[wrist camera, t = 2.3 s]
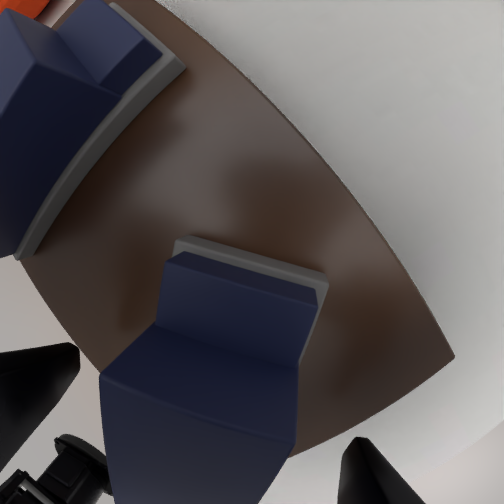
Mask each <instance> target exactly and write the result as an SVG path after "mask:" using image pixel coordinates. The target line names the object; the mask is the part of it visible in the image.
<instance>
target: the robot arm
mask: <svg viewBox="0 0 504 504" xmlns="http://www.w3.org/2000/svg"><path fill="white" fill-rule="evenodd" d="M79 371H80V351H79V348H78V347H77V346H75V345H73V344H72V343H69V342H66V343H60V344H54V345H48V346H42V347H37V348H30V349H23V350H17V351H9V352H3V353H0V472H1V471H2V469H3V468H4V467H5V466H6V465H7V463H8V462H9V461H10V460H11V458H12V457H13V456H14V455H15V453H16V452H17V451H18V450H19V449H20V447H21V446H22V445H23V444H24V442H25V441H26V440H27V439H28V437H29V436H30V435H31V434H32V433H33V432H34V430H35V429H36V428H37V427H38V426H39V425H40V423H41V422H42V421H43V420H44V419H45V417H46V416H47V415H48V414H49V413H50V411H51V410H52V409H53V408H54V407H55V406H56V404H57V403H58V402H59V401H60V399H61V398H62V396H63V395H64V393H65V392H66V390H67V389H68V387H69V386H70V384H71V383H72V382H73V380H74V379H75V377H76V376H77V374H78V373H79ZM54 442H55V445H56V448H57V451H58V454H59V455H58V456H57V457H56V458H55V460H53V462H52V463H51V464H50V465H49V466H48V467H47V468H46V470H45V471H44V473H43V474H42V475H41V476H40V477H39V478H38V480H37V481H35V480H34V479H33V478H32V477H30V476H29V474H28V473H27V472H26V471H24V472H23V471H21V470H19V469H17V470H16V471H15V472H14V473H13V475H12V476H11V477H10V478H9V479H8V480H6V481H5V482H4V483H3V484H2V485H1V486H0V504H96V502H97V500H98V499H99V498H100V496H101V495H102V493H103V492H104V493H106V494H108V495H110V496H113V492H112V487H111V482H110V477H109V471H108V466H106V465H105V464H103V463H101V462H99V461H97V460H95V459H93V458H91V457H90V456H88V455H86V454H84V453H83V452H81V451H79V450H78V449H76V448H74V447H73V446H71V445H69V444H68V443H66V442H64V441H63V440H61V439H60V438H58V437H56V438H55V439H54ZM22 486H23V487H25V488H26V489H27V490H26V491H24V490H23V489H22V488H21V487H22ZM337 504H425V503H424V501H423V500H422V499H421V498H420V497H419V496H418V495H417V494H416V493H415V491H414V490H412V488H411V487H410V486H409V485H408V483H407V482H406V481H405V480H404V479H403V478H402V477H401V476H400V474H399V473H398V472H397V471H396V470H395V469H394V468H393V466H392V465H391V464H390V463H389V462H388V461H387V460H386V458H385V457H384V456H383V455H382V454H381V453H380V451H379V450H378V449H377V448H376V447H375V446H374V444H373V443H372V442H371V441H370V440H369V439H368V438H364V437H355V438H354V439H353V440H352V442H351V443H350V444H349V446H348V447H347V449H346V450H345V452H344V453H343V456H342V460H341V471H340V480H339V489H338V501H337Z"/></svg>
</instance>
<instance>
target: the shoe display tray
mask: <svg viewBox="0 0 504 504" xmlns="http://www.w3.org/2000/svg"><path fill="white" fill-rule="evenodd" d="M83 1H84V0H76V1H75V2H74V3H73V4H72V5H71V6H70V7H69V9H68V10H67V11H66V12H65V13H64V14H63V15H62V16H61V17H60V18H59V19H58V21H57V22H56V23H55V24H54V25H53V26H52V28H51V29H53V30H55V31H56V30H57V29H58V28H59V27H60V26H61V25H62V23H63V22H64V21H65V20H66V19H67V18H68V17H69V16H70V15H71V14H72V13H73V12H74V10H75V9H76V8H77V7H78V6H79V5H80V4H81V3H82V2H83ZM103 1H104V2H105V3H107V4H108V5H109V4H110V3H112V2H115V3H116V4H117V5H119V6H120V7H121V8H122V9H123V10H125V11H126V12H127V13H128V14H130V15H131V16H132V17H133V18H134V19H135V20H137V21H138V22H139V23H140V24H141V25H143V26H144V27H145V28H146V29H147V30H148V31H149V32H151V33H152V34H153V35H154V36H155V37H156V38H157V39H158V40H160V41H161V42H162V43H163V44H164V45H165V46H166V47H167V48H168V49H170V50H171V51H172V52H173V53H174V54H175V55H176V56H177V57H178V58H179V59H180V60H181V61H182V62H183V63H184V64H185V66H186V69H185V70H184V71H183V72H182V73H180V74H179V75H178V76H177V77H176V78H175V79H174V80H173V81H172V82H171V83H169V84H168V85H167V86H166V87H165V88H164V89H163V90H162V91H161V92H160V93H159V94H158V95H157V96H156V97H155V98H154V99H153V100H152V101H151V102H150V103H149V104H148V105H147V106H146V107H145V108H144V109H143V110H142V111H141V112H140V113H139V114H138V115H137V116H136V117H135V118H134V119H133V120H132V121H131V123H130V124H129V125H128V126H127V127H126V128H125V129H124V130H123V131H122V132H121V134H120V135H119V136H118V137H117V138H116V139H115V140H114V142H113V143H112V144H111V145H110V146H109V147H108V149H107V150H106V151H105V152H104V153H103V155H102V156H101V157H100V158H99V160H98V161H97V162H96V163H95V165H94V166H93V167H92V168H91V170H90V171H89V172H88V173H87V175H86V176H85V177H84V179H83V180H82V181H81V183H80V184H79V185H78V187H77V188H76V189H75V191H74V192H73V194H72V195H71V196H70V198H69V199H68V201H67V202H66V204H65V205H64V206H63V208H62V209H61V211H60V212H59V214H58V215H57V217H56V218H55V220H54V222H53V223H52V225H51V226H50V228H49V229H48V231H47V233H46V234H45V236H44V237H43V239H42V241H41V242H40V244H39V246H38V247H37V249H36V251H35V253H34V254H33V256H31V257H27V258H24V259H21V260H20V262H21V264H22V265H23V267H24V268H25V270H26V272H27V274H28V276H29V277H30V279H31V280H32V282H33V283H34V285H35V287H36V288H37V290H38V292H39V293H40V295H41V296H42V298H43V299H44V301H45V302H46V304H47V305H48V307H49V308H50V310H51V311H52V312H53V314H54V315H55V317H56V318H57V320H58V321H59V322H60V323H61V325H62V326H63V328H64V329H65V330H66V332H67V333H68V334H69V336H70V337H71V338H72V340H73V341H74V342H75V343H76V345H77V346H78V347H79V348H80V349H81V351H82V352H83V353H84V355H85V356H86V357H87V358H88V359H89V361H90V362H91V363H92V364H93V365H94V367H95V368H97V370H98V371H99V372H100V373H101V372H102V371H103V370H104V369H105V368H106V367H107V366H108V365H109V364H110V363H111V362H112V361H113V360H114V359H115V358H116V357H117V356H118V355H120V354H121V353H122V352H123V351H124V350H125V349H126V348H127V347H128V346H129V345H130V344H131V343H132V342H133V341H134V340H135V339H136V338H137V337H139V336H140V335H141V334H142V333H143V332H144V331H145V330H146V329H147V328H148V327H149V326H150V325H151V324H152V323H153V322H154V321H156V313H157V306H158V299H159V293H160V286H161V280H162V274H163V268H164V263H165V261H166V260H168V259H170V258H172V254H173V249H174V243H175V241H176V240H177V239H179V238H182V237H184V236H186V235H192V236H195V237H199V238H202V239H206V240H209V241H213V242H216V243H220V244H223V245H227V246H230V247H234V248H237V249H241V250H244V251H248V252H251V253H255V254H258V255H262V256H265V257H269V258H272V259H276V260H279V261H283V262H287V263H290V264H294V265H297V266H301V267H304V268H308V269H311V270H315V271H318V272H322V273H324V274H326V277H327V280H328V283H329V288H328V291H327V294H326V296H325V299H324V302H323V305H322V308H321V311H320V313H319V316H318V319H317V321H316V324H315V327H314V329H313V332H312V335H311V337H310V340H309V343H308V345H307V348H306V350H305V353H304V355H303V358H302V360H301V363H300V365H299V383H298V418H297V442H296V444H295V446H294V448H293V449H292V451H291V453H290V455H289V456H288V458H289V457H292V456H294V455H297V454H299V453H301V452H303V451H306V450H308V449H310V448H312V447H315V446H317V445H319V444H321V443H323V442H325V441H327V440H329V439H331V438H333V437H335V436H337V435H339V434H341V433H343V432H345V431H347V430H348V429H350V428H352V427H354V426H356V425H358V424H359V423H361V422H363V421H365V420H366V419H368V418H370V417H372V416H373V415H375V414H377V413H378V412H380V411H382V410H383V409H385V408H386V407H388V406H390V405H391V404H393V403H394V402H396V401H397V400H399V399H400V398H402V397H403V396H405V395H406V394H408V393H409V392H411V391H412V390H414V389H415V388H416V387H418V386H419V385H421V384H422V383H423V382H425V381H426V380H428V379H429V378H430V377H432V376H433V375H434V374H435V373H437V372H438V371H439V370H441V369H442V368H443V367H444V366H446V365H447V364H448V363H449V362H451V361H452V360H453V359H454V358H455V355H454V353H453V351H452V349H451V347H450V345H449V343H448V341H447V339H446V338H445V336H444V334H443V332H442V330H441V328H440V327H439V325H438V323H437V321H436V319H435V318H434V316H433V314H432V312H431V311H430V309H429V307H428V306H427V304H426V302H425V300H424V299H423V297H422V295H421V294H420V292H419V291H418V289H417V287H416V286H415V284H414V282H413V281H412V279H411V278H410V276H409V275H408V273H407V271H406V270H405V268H404V267H403V265H402V264H401V262H400V261H399V259H398V258H397V256H396V255H395V253H394V252H393V250H392V249H391V247H390V246H389V244H388V243H387V242H386V240H385V239H384V237H383V236H382V234H381V233H380V232H379V230H378V229H377V227H376V226H375V225H374V223H373V222H372V220H371V219H370V218H369V216H368V215H367V214H366V212H365V211H364V210H363V208H362V207H361V206H360V204H359V203H358V202H357V200H356V199H355V198H354V196H353V195H352V194H351V193H350V191H349V190H348V189H347V187H346V186H345V185H344V184H343V182H342V181H341V180H340V179H339V177H338V176H337V175H336V174H335V172H334V171H333V170H332V169H331V168H330V166H329V165H328V164H327V163H326V162H325V160H324V159H323V158H322V157H321V156H320V155H319V153H318V152H317V151H316V150H315V149H314V148H313V146H312V145H311V144H310V143H309V142H308V141H307V140H306V138H305V137H304V136H303V135H302V134H301V133H300V132H299V131H298V129H297V128H296V127H295V126H294V125H293V124H292V123H291V122H290V121H289V120H288V119H287V118H286V116H285V115H284V114H283V113H282V112H281V111H280V110H279V109H278V108H277V107H276V106H275V105H274V104H273V103H272V102H271V101H270V100H269V99H268V98H267V97H266V96H265V95H264V94H263V93H262V92H261V91H260V90H259V89H258V88H257V87H256V86H255V85H254V84H253V83H252V82H251V81H250V80H249V79H248V78H247V77H246V76H245V75H244V74H243V73H242V72H241V71H240V70H239V69H237V68H236V67H235V66H234V65H233V64H232V63H231V62H230V61H229V60H228V59H227V58H225V57H224V56H223V55H222V54H221V53H220V52H219V51H218V50H216V49H215V48H214V47H213V46H212V45H211V44H210V43H208V42H207V41H206V40H205V39H204V38H203V37H201V36H200V35H199V34H198V33H197V32H195V31H194V30H193V29H192V28H190V27H189V26H188V25H187V24H186V23H184V22H183V21H182V20H180V19H179V18H178V17H177V16H175V15H174V14H173V13H171V12H170V11H169V10H167V9H166V8H165V7H163V6H162V5H161V4H159V3H158V2H157V1H155V0H103Z"/></svg>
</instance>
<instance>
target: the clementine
mask: <svg viewBox="0 0 504 504" xmlns="http://www.w3.org/2000/svg"><path fill="white" fill-rule="evenodd" d="M49 1H50V0H0V14H1V13H2V12H3V10H4V9H5V8H9V9H12V10H14V11H16V12H18V13H20V14H23V15H25V16H27V17H29V18H31V19H34V18H35V17H37V16H38V15H39V14H40V13H41V12H42V10H43V9H44V8H45V7H46V5H47V4H48V2H49Z"/></svg>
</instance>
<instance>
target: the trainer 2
mask: <svg viewBox="0 0 504 504" xmlns="http://www.w3.org/2000/svg"><path fill="white" fill-rule="evenodd" d="M328 288H329V283H328V280H327V277H326V274H324V273H322V272H318V271H315V270H311V269H308V268H304V267H301V266H297V265H294V264H290V263H287V262H283V261H279V260H276V259H272V258H269V257H265V256H262V255H258V254H255V253H251V252H248V251H244V250H241V249H237V248H234V247H230V246H227V245H223V244H220V243H216V242H213V241H209V240H206V239H202V238H199V237H195V236H192V235H186V236H184V237H182V238H179V239H177V240H176V241H175V243H174V249H173V254H172V258H170V259H168V260H166V261H165V263H164V268H163V274H162V280H161V286H160V293H159V299H158V306H157V313H156V321H154V322H153V323H152V324H151V325H150V326H149V327H148V328H147V329H146V330H145V331H144V332H143V333H142V334H141V335H140V336H139V337H137V338H136V339H135V340H134V341H133V342H132V343H131V344H130V345H129V346H128V347H127V348H126V349H125V350H124V351H123V352H122V353H121V354H120V355H118V356H117V357H116V358H115V359H114V360H113V361H112V362H111V363H110V364H109V365H108V366H107V367H106V368H105V369H104V370H103V371H102V372H101V373H100V375H99V390H100V405H101V417H102V428H103V435H104V445H105V452H106V459H107V465H108V471H109V477H110V482H111V487H112V492H113V497H114V501H115V504H258V503H259V501H260V500H261V498H262V497H263V496H264V494H265V493H266V491H267V490H268V488H269V487H270V485H271V483H272V482H273V480H274V479H275V477H276V476H277V474H278V473H279V471H280V469H281V468H282V466H283V465H284V463H285V461H286V460H287V458H288V456H289V455H290V453H291V451H292V449H293V448H294V446H295V444H296V442H297V418H298V383H299V365H300V363H301V360H302V358H303V355H304V353H305V350H306V348H307V345H308V343H309V340H310V337H311V335H312V332H313V329H314V327H315V324H316V321H317V319H318V316H319V313H320V311H321V308H322V305H323V302H324V299H325V296H326V294H327V291H328Z"/></svg>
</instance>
